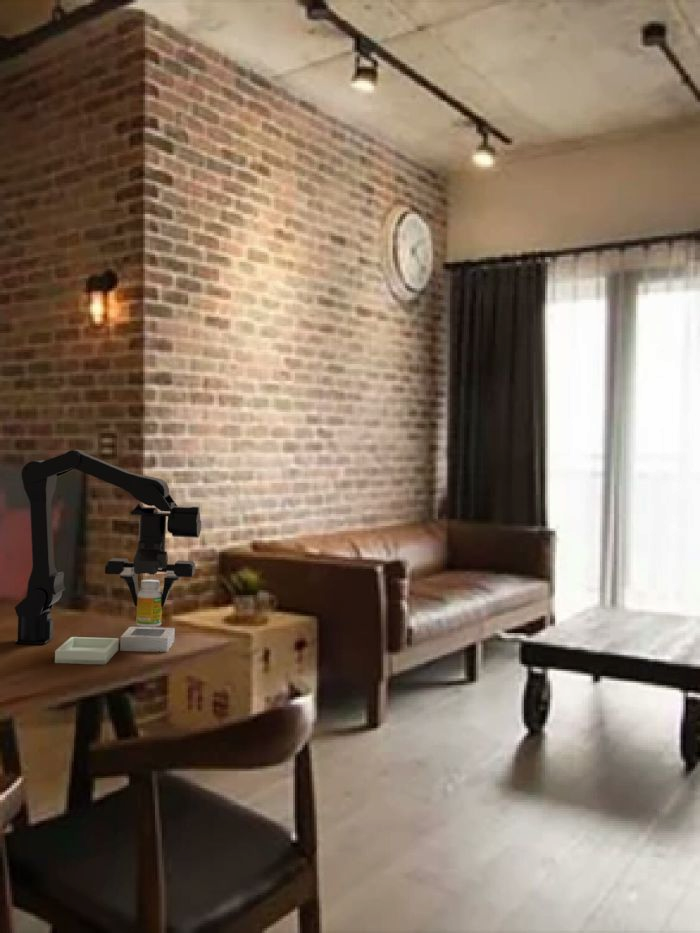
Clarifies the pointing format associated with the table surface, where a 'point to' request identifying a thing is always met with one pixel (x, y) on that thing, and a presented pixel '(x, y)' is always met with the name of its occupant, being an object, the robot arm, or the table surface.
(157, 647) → the sleeve holder
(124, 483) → the robot arm
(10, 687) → the table surface
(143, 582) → the supplement bottle
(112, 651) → the tray
